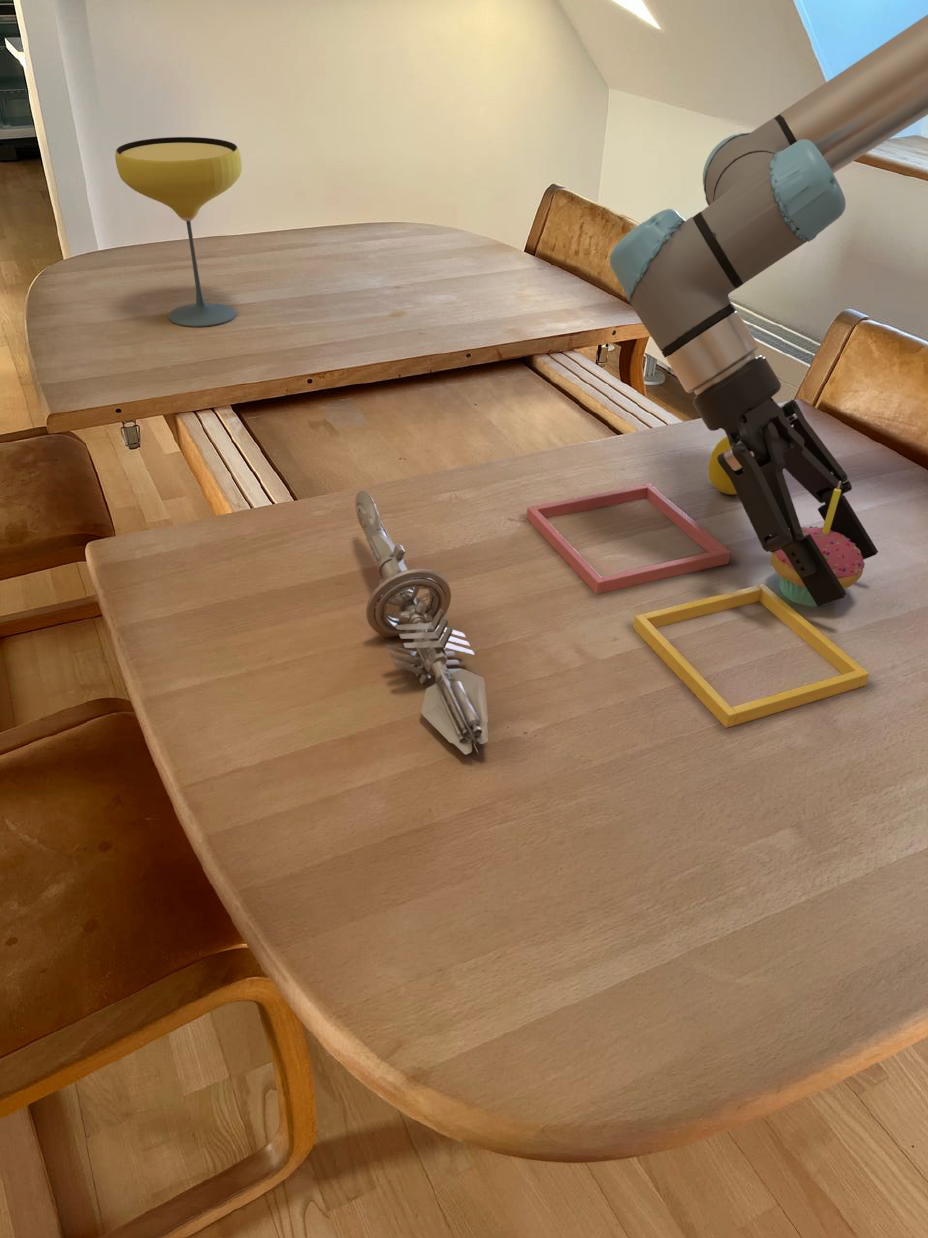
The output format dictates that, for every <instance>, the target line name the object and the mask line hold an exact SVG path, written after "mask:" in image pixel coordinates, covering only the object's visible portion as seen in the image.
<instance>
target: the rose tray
mask: <svg viewBox="0 0 928 1238" xmlns="http://www.w3.org/2000/svg"><path fill="white" fill-rule="evenodd" d="M645 499H646V500H647V501H648V502H649V503H651V504H652V505H653V506H654V507H655V508H656V509H657V510H658V511H660V512H661V513H662V514H663V515H664V516H666V517H667V518H668V519H669V520H670V521H671V522H673V524H675V525H676V526H677V527H678V528H679V529H681V530H682V531H683V532H684V533H685V534H686V535H687V536H689V538H691V539H692V540H693V541H694V542H695V543H697V544H698V545H699V546H700V547H701V548H703V549H704V550H705V553H701V554H696V555H692V556H688V557H685V558H679V559H675V560H671V561H666V562H662V563H657V564H653V565H648V566H645V567H640V568H636V569H631V570H627V571H622V572H618V573H613V574H609V575H606V576H605V575H604V576H601V575H600V574H599V573H598V572H597V571H596V570H595V569H594V568H593V567H592V566H591V565H590V564H589V563H588V561H587V560H585V558H584V557H583V556H581V554H579V552H578V551H577V550H576V549H575V548H574V547H573V546H572V545H571V544H570V543H569V541H567V540H566V539H565V537H563V535H562V534H561V533H560V532H559V531H558V530H557V529H556V528H555V527H554V526H553V525H552V524H551V523H550V522H549V521H548V520H547V519H549V518H554V517H558V516H559V517H560V516H564V515H570V514H574V513H579V512H583V511H590V510H594V509H599V508H604V507H608V506H614V505H619V504H624V503H629V502H633V501H640V500H645ZM526 520H528V522H529V523H530V524H531V525H532V526H533V527H534V528H535V530H536V531H538V533H539V534H540V535H541V536H542V537H543V538H544V539H545V540H546V541H547V542H548V544H550V546H551V547H552V548H553V549H554V550H555V551H556V552H557V553H558V555H560V556H561V557H562V559H563V560H564V561H565V562H566V563H567V565H569V566H570V567H571V569H572V570H574V572H575V573H576V574H577V575H578V576H579V577H580V578H581V580H583V582H585V584H586V585H587V586H588V587H589V588H590V589H591V591H593V592H594V593H595V594H596V595H600V594H604V593H608V592H609V593H610V592H613V591H617V590H621V589H625V588H629V587H635V586H638V585H642V584H646V583H647V584H648V583H651V582H654V581H660V580H664V579H669V578H672V577H676V576H680V575H684V574H689V573H693V572H698V571H702V570H706V569H710V568H715V567H718V566H722V565H727V564H729V563H730V559H731V555H732V551H731V550H729V549H728V548H727V547H726V546H725V545H723V544H722V543H721V542H720V541H718V540H717V538H715V537H714V536H713V535H712V534H710V533H709V532H708V531H707V530H706V529H704V528H703V527H702V526H700V525H699V524H698V523H697V522H696V521H695V520H694V519H692V518H691V517H690V516H689V515H688V514H687V513H685V512H684V511H683V510H682V509H680V508H679V507H678V506H677V505H676V504H675V503H673V502H672V501H671V500H669V498H668V497H666V495H664V494H663V493H662V492H660V490H658V489H657V488H656V487H654V486H653V485H652V484H651V483H646V484H645V483H644V484H639V485H635V486H631V487H624V488H620V489H616V490H610V491H605V492H599V493H594V494H588V495H585V496H579V497H574V498H569V499H563V500H558V501H553V502H548V503H544V504H538V505H533V506H528V507H527V508H526Z"/></svg>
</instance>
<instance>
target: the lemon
mask: <svg viewBox="0 0 928 1238" xmlns="http://www.w3.org/2000/svg"><path fill="white" fill-rule="evenodd" d="M729 448H730V444H729V441H728V438H727V436H725V437H723V438H722V439H720V440H719V441H718V443H716V445H715V447H714V449H713V451H712V453H711V455H710V458H709V463H708V477H709V480H710V482H711V484H712V485H713V487H714V488H715V489H716V490H717V491H718V492H721V493H722V494H725V495H730V496H731V495H738V494H737V492H736V490H735V488H734V486H733V484H732V482H731V480H730V478H729V476H728V475H727V474H726V472H725V471H724V470H723V468H722V467H721V466H720V464H719V463H718V460H717V456H718V455H720V454H721V453H723V452H725V451H727V450H728V449H729Z"/></svg>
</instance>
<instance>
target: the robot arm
mask: <svg viewBox="0 0 928 1238" xmlns="http://www.w3.org/2000/svg"><path fill="white" fill-rule="evenodd" d="M927 116H928V14H926V15H924V16H923V17H922V18H920V19H919V20H917V21H915V22H914V23H912V24H911V25H910V26H908V27H907V28H905V29H904V30H902V31H900V32H899V33H898V34H896V35H895V36H893V37H892V38H891V39H888V40H887V41H886V42H884V43H883V44H881V45H880V46H878V47H877V48H875V49H874V50H872V51H871V52H869V53H868V54H866V55H864V56H863V57H862V58H861V59H859V60H857V61H856V62H854V63H853V64H851V65H850V66H849V67H847V68H846V69H844V70H843V71H841V72H840V73H838V74H836V75H835V76H833V77H832V78H831V79H829V80H827V81H826V82H824V83H823V84H822V85H820V86H819V87H817V88H816V89H814V90H813V91H811V92H809V93H808V94H806V95H805V96H803V97H802V98H801V99H799V100H797V101H796V102H794V103H793V104H791V106H789V107H787V108H786V109H785V110H783V111H781V112H779V114H777V115H775V116H774V117H773V118H771V119H769V120H767V121H766V122H764V123H763V124H761V125H760V126H758V127H757V128H755V129H754V130H752V131H751V132H741V133H740V132H739V133H736V134H733V135H730V136H727V137H726V138H723V139H722V140H721V141H719V142H718V144H716V145H715V147H713V149H712V150H711V152H709V155H708V156H707V159H706V161H705V163H704V166H703V170H702V186H703V192H704V195H705V202H706V204H707V206H706V207H705V208H704V209H702V210H701V211H699V212H698V213H696V214H695V215H694V216H691V217H689V218H688V219H684V217H682V216H680V214H679V213H678V212H677V210H676V209H673V208H666V209H663V210H660V211H659V212H657V213H655V214H654V215H652V216H650V218H648V219H647V220H645V221H643V222H641V223H640V224H638V225H637V226H636V227H634V228H633V229H631V231H629V232H628V233H627V234H626V235H624V236H623V238H621V239H620V240H619V241H618V242H617V243H616V244H615V246H614V247H613V248H612V250H611V253H610V255H609V265H610V269H611V270H612V272H613V274H614V277H616V280H617V281H618V283H619V285H620V287H621V289H622V290H623V293H624V294H625V296H626V300H627V301H628V303H629V304H630V305H631V307H632V309H633V310H634V312H635V314H636V315H637V316H638V318H639V320H640V321H641V322H642V324H643V326H644V328H645V330H646V331H647V332H648V334H649V335H650V337H651V338H652V340H653V342H654V343H655V344H656V346H657V348H658V349H659V351H660V352H661V354H662V356H663V357H664V359H665V360H666V361H667V363H668V364H669V366H670V368H671V373H672V374H673V375H675V376H676V378H677V379H678V381H679V383H680V384H681V386H682V388H683V389H684V391H685V392H686V393H687V394H691V393H694V395H695V396H694V398H692V401H693V402H692V405H693V406H694V408H695V410H696V412H697V413H698V416H700V418H701V420H702V422H703V423H704V425H705V426H706V428H707V429H708V430H709V431H712V432H715V431H718V430H720V429H721V430H723V431H724V432H725V435H726V437H727V438H728V441H729V444H730V448H729V449H728V450H727V451H725V452H723V453H721V454H720V455H718V456H717V460H718V463H719V464H720V466H721V467H722V468H723V470H724V471H725V472H726V474H727V475H728V476H729V478H730V480H731V482H732V484H733V486H734V488H735V490H736V492H737V494H736V495H737V496H738V499H739V500H740V502H741V505H742V507H743V509H744V511H745V514H746V515H747V518H748V519H749V522H750V524H751V525H752V528H753V530H754V532H755V534H756V537H757V538H758V541H759V543H760V545H761V548H762V549H763V550H764V551H765V552H766V553H769V552H770V553H771V554H772V553H773V552H775V551H778V550H780V549H781V550H782V551H783V552H784V553H785V554H786V556H787V558H788V559H789V561H790V563H791V564H792V565H793V567H794V569H795V571H796V572H797V574H798V575H799V577H800V578H801V580H802V582H803V583H804V585H805V587H806V588H807V590H808V591H809V593H810V595H811V596H812V598H813V600H814V601H815V603H816V604H817V606H816V607H822V606H821V605H823V606H825V605H824V604H826V605H828V604H830V603H833V602H836V601H838V600H841V599H843V598H845V597H846V596H847V592H846V591H845V590H846V589H843V587H842V585H841V584H840V582H839V581H838V579H837V577H836V576H835V574H834V572H833V571H832V569H831V567H830V566H829V564H828V563H827V561H826V559H825V558H824V556H823V554H822V553H821V551H820V549H819V548H818V546H817V545H816V543H815V541H814V540H813V538H812V536H811V535H810V534H808V535H806V536H803V532H802V529H801V527H802V526H801V524H800V519H799V516H798V514H797V511H796V508H795V505H794V502H793V499H792V496H791V493H790V490H789V486H788V483H787V481H786V478H785V475H784V470H785V471H786V472H788V474H789V475H791V476H792V477H793V478H794V479H795V480H796V481H797V482H798V484H800V485H801V486H802V487H803V488H804V489H805V490H806V491H807V492H808V493H809V494H810V495H811V496H812V497H813V498H814V499H815V500H816V501H817V502H818V503H819V504H821V505H820V506H819V507H818V508H817V511H818V513H819V515H820V516H821V518H822V519H823V521H824V522H825V519H826V515H827V512H828V508H829V505H830V502H831V498H832V495H833V491H834V489H837V486H838V483H839V481H841V484H840V488H839V489H840V490H841V493H840V497H839V500H838V504H837V507H836V510H835V514H834V517H833V521H832V524H831V527H830V530H832V531H834V532H837V533H840V534H842V535H844V536H845V537H846V538H849V539H850V541H851V542H852V543H855V544H856V545H855V546H856V547H857V548H858V549H859V550H860V551H861V555H862V557H863V561H864V560H867V559H869V558H872V557H874V556H876V555H877V554H878V553H879V550H878V549H877V547H876V545H875V544H874V542H873V540H872V539H871V537H870V535H869V534H868V532H867V531H866V529H865V526H864V525H863V524H862V522H861V520H860V519H859V517H858V516H857V514H856V512H855V511H854V509H853V507H852V506H851V504H850V502H849V501H848V499H847V497H846V496H845V494H847V493H848V492H851V491H852V489H853V486H852V483H851V482H850V480H848V475H847V473H846V471H844V469H843V467H842V466H841V464H839V462H838V461H837V460H836V458H835V457H834V456H833V454H832V453H831V452H830V450H829V449H828V447H827V446H826V445H825V443H824V442H823V441H822V439H821V438H820V437H819V435H818V434H817V433H816V432H815V430H814V429H813V427H812V426H811V424H810V423H809V422H808V421H807V419H806V417H805V416H804V414H803V412H802V410H801V408H800V406H799V404H798V402H797V401H796V400H795V399H791V400H789V401H787V402H786V403H784V404H782V405H779V404H777V402H776V401H775V400H774V399H773V398H772V397H774V396H775V395H776V394H777V393H779V391H780V390H781V388H782V383H781V380H780V379H779V378H778V376H777V375H776V373H775V371H774V370H773V368H772V366H771V365H770V363H769V360H767V358H766V357H765V356H764V357H763V356H762V355H759V356H758V355H757V354H756V351H757V350H758V349H759V344H758V343H757V340H756V339H755V337H754V336H753V334H752V333H751V331H750V330H749V327H748V326H747V325H746V323H745V321H744V320H743V318H742V316H741V315H740V314H739V312H738V310H737V309H736V307H735V305H734V304H733V303H732V301H731V299H730V296H729V295H730V293H731V294H732V292H733V291H735V290H737V289H738V288H740V287H742V286H743V285H744V284H746V283H748V282H749V281H751V280H752V279H753V278H755V277H756V276H758V275H759V274H760V273H762V272H764V271H765V270H767V269H769V268H770V267H771V266H773V265H774V264H775V263H777V262H779V261H780V260H782V259H784V258H785V257H786V256H788V255H789V254H791V253H792V252H794V251H795V250H796V249H799V248H800V247H801V246H803V245H805V243H809V242H811V241H813V240H814V239H816V237H817V236H818V235H819V234H821V232H823V231H824V230H825V229H826V228H828V227H829V226H830V225H832V224H833V223H835V222H836V221H838V219H839V218H840V217H841V216H842V215H843V214H844V212H845V210H846V203H847V202H846V197H845V195H844V193H843V190H842V188H841V185H840V183H839V182H838V180H837V178H836V176H835V173H837V172H838V171H840V170H842V169H844V168H845V167H846V166H848V165H849V164H851V163H853V162H854V161H856V160H858V159H859V158H861V157H862V156H864V155H865V154H867V153H869V152H870V151H872V150H874V149H875V148H877V147H878V146H880V145H882V144H884V143H885V142H887V141H888V140H890V139H891V138H892V137H894V136H896V135H897V134H899V133H901V132H902V131H905V129H908V128H909V127H910V126H913V125H914V124H915V123H916V122H919V121H920V120H921V119H924V118H925V117H927ZM827 603H828V604H827Z"/></svg>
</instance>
